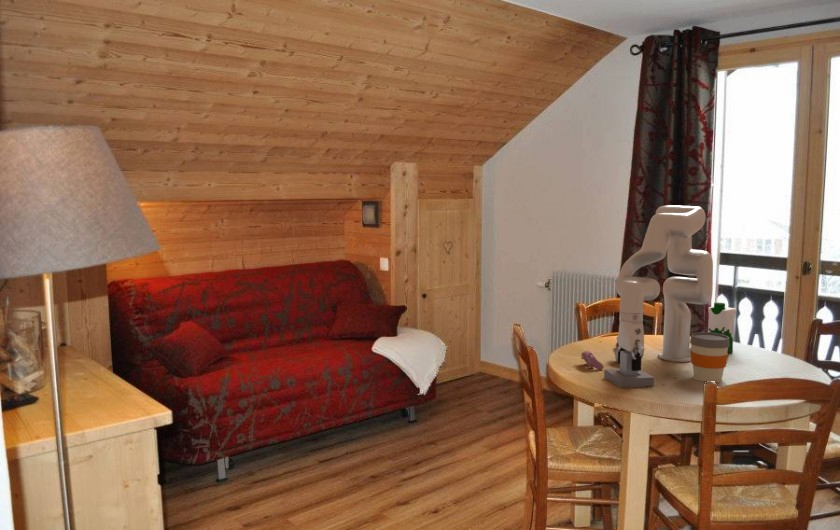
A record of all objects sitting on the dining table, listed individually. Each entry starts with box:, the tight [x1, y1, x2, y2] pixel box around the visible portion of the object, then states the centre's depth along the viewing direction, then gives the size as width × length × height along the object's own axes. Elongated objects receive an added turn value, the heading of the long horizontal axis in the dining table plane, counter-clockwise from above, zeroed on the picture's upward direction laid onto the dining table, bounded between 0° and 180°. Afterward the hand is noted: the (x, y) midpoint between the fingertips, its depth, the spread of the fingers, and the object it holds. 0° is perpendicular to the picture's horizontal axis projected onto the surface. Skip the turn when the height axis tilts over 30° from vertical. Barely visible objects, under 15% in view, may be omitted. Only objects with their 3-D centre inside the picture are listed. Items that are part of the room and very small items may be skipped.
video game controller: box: [580, 350, 604, 371], centre depth 251 cm, size 10×5×7 cm, turn 6°
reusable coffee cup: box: [690, 331, 729, 383], centre depth 236 cm, size 13×13×15 cm
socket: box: [603, 368, 655, 389], centre depth 232 cm, size 12×12×3 cm
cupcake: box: [612, 342, 627, 363], centre depth 257 cm, size 9×9×10 cm
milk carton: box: [707, 302, 737, 354], centre depth 272 cm, size 9×9×20 cm
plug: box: [619, 351, 638, 376], centre depth 232 cm, size 4×4×10 cm
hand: (629, 366), depth 231 cm, fingers open, 9 cm apart
